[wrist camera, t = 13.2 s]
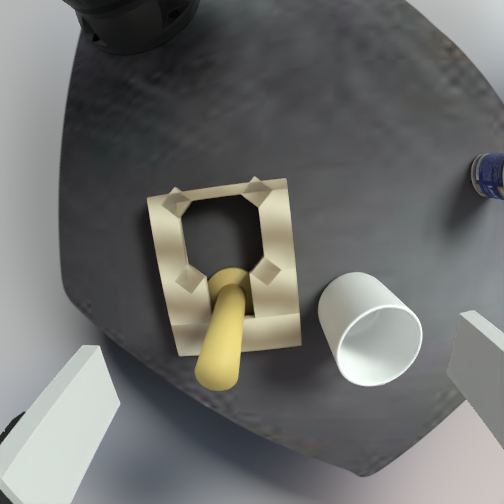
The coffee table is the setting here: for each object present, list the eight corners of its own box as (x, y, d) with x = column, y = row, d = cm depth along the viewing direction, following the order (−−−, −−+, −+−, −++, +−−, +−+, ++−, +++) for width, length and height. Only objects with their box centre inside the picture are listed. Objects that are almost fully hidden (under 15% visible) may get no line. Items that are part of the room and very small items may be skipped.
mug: (332, 366, 39) (352, 420, 28) (307, 285, 36) (325, 326, 26) (393, 342, 38) (427, 389, 28) (375, 259, 36) (416, 290, 25)
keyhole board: (155, 191, 34) (146, 192, 31) (282, 173, 33) (285, 172, 30) (184, 343, 38) (178, 356, 35) (298, 332, 38) (301, 345, 35)
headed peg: (202, 270, 36) (162, 337, 20) (256, 263, 36) (256, 330, 20) (211, 320, 37) (183, 408, 22) (263, 314, 37) (266, 404, 21)
